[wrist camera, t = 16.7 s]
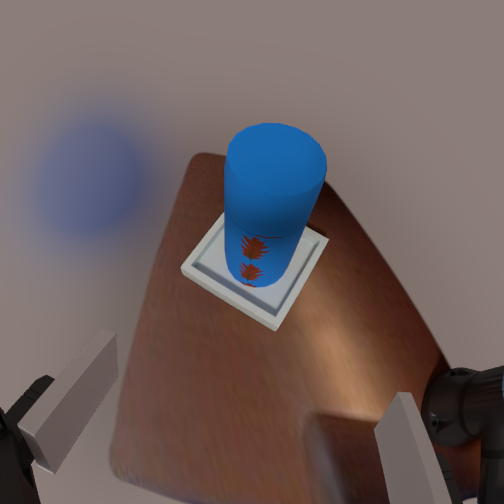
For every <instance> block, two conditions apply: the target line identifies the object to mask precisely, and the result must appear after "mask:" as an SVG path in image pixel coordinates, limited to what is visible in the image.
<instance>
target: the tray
mask: <svg viewBox="0 0 504 504" xmlns="http://www.w3.org/2000/svg"><path fill="white" fill-rule="evenodd" d="M328 240H329V239H327V238H325V237H324V236H322V235H320V234H318V233H317V232H315V231H313V230H311V229H310V228H308V227H306V226H305V229H304V231H303V234H302V236H301V238H300V241H299V243H298V245H297V248H296V250H295V252H294V255H293V257H292V259H291V261H290V264H289V266H288V268H287V270H286V271H285V273H284V275H283V276H282V277H281V278H280V279H279V280H278V281H277V282H276V283H274V284H271V285H269V286H267V287H258V288H254V287H250V286H246V285H243V284H242V283H240V282H239V281H237V280H236V279H234V277H233V276H232V274H231V273H230V272H229V270H228V267H227V263H226V258H225V250H224V212H223V214H222V215H221V216H220V217H219V219H218V220H217V221H216V222H215V224H214V225H213V226H212V227H211V229H210V230H209V231H208V233H207V234H206V235H205V236H204V238H203V239H202V240H201V241H200V243H199V244H198V245H197V247H196V248H195V249H194V250H193V252H192V253H191V254H190V256H189V257H188V258H187V260H186V261H185V262H184V263H183V265H182V266H181V270H182V274H183V275H184V276H186V277H187V278H189V279H191V280H192V281H194V282H195V283H197V284H198V285H200V286H202V287H203V288H205V289H206V290H208V291H209V292H211V293H213V294H214V295H216V296H217V297H219V298H221V299H222V300H224V301H225V302H227V303H229V304H230V305H232V306H234V307H235V308H237V309H238V310H240V311H242V312H243V313H245V314H247V315H248V316H250V317H252V318H253V319H255V320H257V321H258V322H260V323H262V324H263V325H265V326H267V327H268V328H270V329H272V330H273V331H275V332H276V331H277V329H278V328H279V326H280V324H281V323H282V321H283V319H284V318H285V316H286V314H287V313H288V311H289V309H290V308H291V306H292V304H293V302H294V301H295V299H296V297H297V296H298V294H299V292H300V290H301V289H302V287H303V285H304V283H305V282H306V280H307V278H308V276H309V275H310V273H311V271H312V269H313V267H314V266H315V264H316V262H317V260H318V258H319V257H320V255H321V253H322V251H323V249H324V248H325V246H326V244H327V242H328Z"/></svg>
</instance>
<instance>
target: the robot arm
mask: <svg viewBox="0 0 504 504" xmlns="http://www.w3.org/2000/svg"><path fill="white" fill-rule="evenodd" d="M116 341H117V338H116V333H115V332H113V331H109V330H107V329H104V328H101V329H100V330H99V332H98V333H97V334H96V335H95V336H94V337H93V338H92V339H91V340H90V341H89V342H88V344H87V345H86V346H85V347H84V348H83V349H82V350H81V351H80V352H79V353H78V354H77V356H76V357H75V358H74V359H73V360H72V361H71V362H70V363H69V364H68V366H67V367H66V368H65V369H64V370H63V371H62V372H61V374H60V375H59V376H58V377H57V378H56V379H54V378H52V377H50V376H48V375H45V376H43V377H41V378H39V379H37V380H36V381H35V382H34V383H33V384H32V385H31V386H30V387H29V389H27V390H26V392H25V393H24V394H23V396H21V397H20V398H19V399H18V400H17V402H16V403H15V404H14V405H13V406H12V407H11V408H10V409H9V410H8V412H7V413H6V414H5V413H4V411H3V410H2V409H1V407H0V504H41V503H40V499H39V496H38V491H37V487H36V483H35V479H34V475H33V470H32V467H31V463H32V462H33V460H34V459H35V461H36V463H37V464H38V466H39V467H41V468H42V469H44V470H46V471H48V472H49V473H51V474H53V475H55V474H56V472H57V470H58V469H59V467H60V466H61V464H62V462H63V461H64V459H65V458H66V456H67V454H68V453H69V451H70V450H71V448H72V447H73V445H74V443H75V442H76V440H77V439H78V437H79V436H80V434H81V432H82V431H83V429H84V427H85V426H86V425H87V423H88V422H89V420H90V418H91V417H92V416H93V414H94V412H95V411H96V409H97V408H98V406H99V405H100V403H101V402H102V400H103V399H104V397H105V396H106V394H107V393H108V391H109V390H110V388H111V387H112V385H113V384H114V382H115V381H116V379H117V378H118V364H117V342H116ZM421 417H422V418H421ZM374 432H375V436H376V440H377V444H378V449H379V453H380V457H381V462H382V466H383V471H384V476H385V480H386V485H387V490H388V495H389V500H390V504H463V502H462V499H461V497H460V494H459V491H458V488H457V485H456V482H455V479H453V478H454V477H453V474H452V472H451V468H450V466H449V463H448V461H447V460H446V459H445V457H444V456H443V455H442V454H441V453H440V454H435V452H434V449H433V447H432V444H431V441H432V442H433V443H435V444H437V445H439V446H446V447H454V446H459V445H461V444H464V443H466V442H468V441H471V440H473V439H475V438H481V463H480V482H479V493H478V497H477V500H478V501H477V503H478V504H504V365H503V366H500V367H496V368H492V369H488V370H485V371H481V372H480V371H476V370H472V369H468V368H454V369H450V370H447V371H444V372H443V373H441V374H440V375H438V376H437V377H436V378H435V379H434V380H433V382H432V383H431V384H430V386H429V388H428V389H427V391H426V394H425V396H424V400H423V404H422V412H421V416H420V414H419V411H418V409H417V406H416V404H415V401H414V399H413V397H412V394H411V393H406V392H397V394H396V396H395V397H394V399H393V401H392V402H391V404H390V405H389V407H388V409H387V410H386V412H385V413H384V415H383V417H382V418H381V420H380V421H379V423H378V424H377V426H376V427H375V429H374ZM430 440H431V441H430Z"/></svg>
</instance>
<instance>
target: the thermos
mask: <svg viewBox="0 0 504 504" xmlns="http://www.w3.org/2000/svg"><path fill="white" fill-rule="evenodd" d="M326 171H327V165H326V156H325V154H324V152H323V150H322V148H321V146H320V145H319V144H318V143H317V142H316V141H315V140H314V139H313V138H312V137H311V136H310V135H309V134H307V133H305V132H303V131H301V130H299V129H297V128H295V127H292V126H288V125H284V124H280V123H262V124H258V125H254V126H250V127H247V128H246V129H244V130H242V131H241V132H239V133H238V134H236V135H235V137H234V138H233V139H232V141H231V142H230V143H229V147H228V152H227V157H226V162H225V167H224V250H225V258H226V263H227V267H228V270H229V272H230V273H231V274H232V276H233V277H234V279H236V280H237V281H239V282H240V283H242V284H243V285H246V286H250V287H254V288H258V287H267V286H269V285H271V284H274V283H276V282H277V281H278V280H279V279H280V278H281V277H282V276H283V275H284V273H285V271H286V270H287V268H288V266H289V264H290V261H291V259H292V257H293V255H294V252H295V250H296V248H297V245H298V243H299V241H300V238H301V236H302V234H303V231H304V229H305V226H306V224H307V222H308V219H309V217H310V214H311V212H312V210H313V207H314V205H315V202H316V200H317V198H318V195H319V193H320V190H321V188H322V185H323V183H324V180H325V176H326Z"/></svg>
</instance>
